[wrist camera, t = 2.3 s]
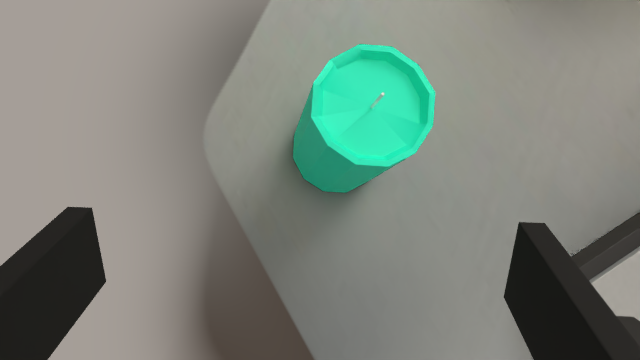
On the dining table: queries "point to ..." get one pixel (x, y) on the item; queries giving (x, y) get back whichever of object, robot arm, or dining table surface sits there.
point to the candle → (362, 117)
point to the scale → (615, 267)
